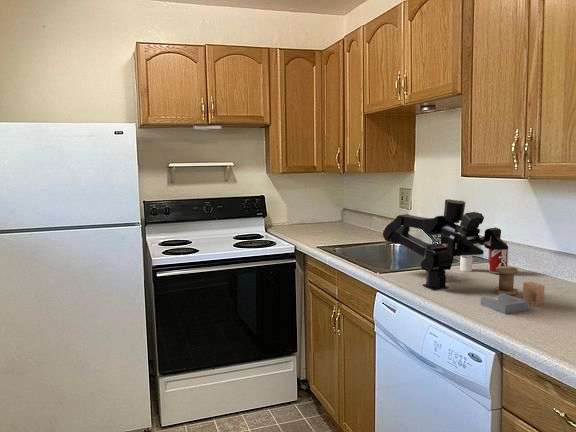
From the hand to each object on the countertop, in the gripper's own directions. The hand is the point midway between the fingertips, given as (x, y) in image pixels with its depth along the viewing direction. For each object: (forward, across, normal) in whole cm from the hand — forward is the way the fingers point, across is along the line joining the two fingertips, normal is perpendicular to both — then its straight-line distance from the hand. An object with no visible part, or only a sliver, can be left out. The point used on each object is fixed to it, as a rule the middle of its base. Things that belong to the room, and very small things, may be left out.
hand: (495, 250), depth 142 cm
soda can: (-28, +33, +24) cm, 50 cm away
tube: (-37, +25, +25) cm, 51 cm away
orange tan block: (+4, +13, +18) cm, 23 cm away
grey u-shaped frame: (+2, +2, +17) cm, 18 cm away
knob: (-8, +15, +20) cm, 26 cm away
